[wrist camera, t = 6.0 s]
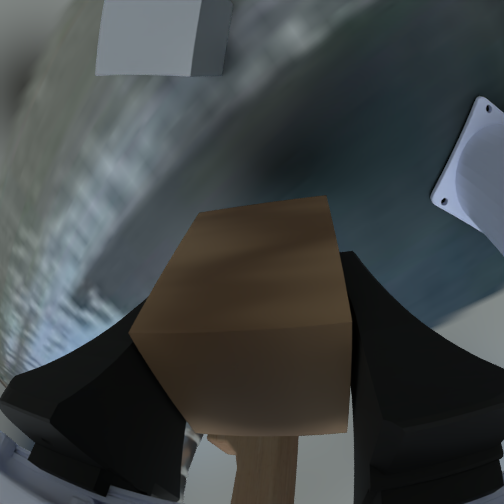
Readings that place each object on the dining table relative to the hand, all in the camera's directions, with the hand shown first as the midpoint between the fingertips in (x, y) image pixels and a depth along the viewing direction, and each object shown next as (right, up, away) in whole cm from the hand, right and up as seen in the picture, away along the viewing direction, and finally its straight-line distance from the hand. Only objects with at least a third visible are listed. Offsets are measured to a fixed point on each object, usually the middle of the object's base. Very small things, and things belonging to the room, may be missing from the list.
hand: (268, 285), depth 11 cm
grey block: (-4, +13, +4) cm, 15 cm away
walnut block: (0, +1, +1) cm, 2 cm away
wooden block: (0, -17, +22) cm, 28 cm away
